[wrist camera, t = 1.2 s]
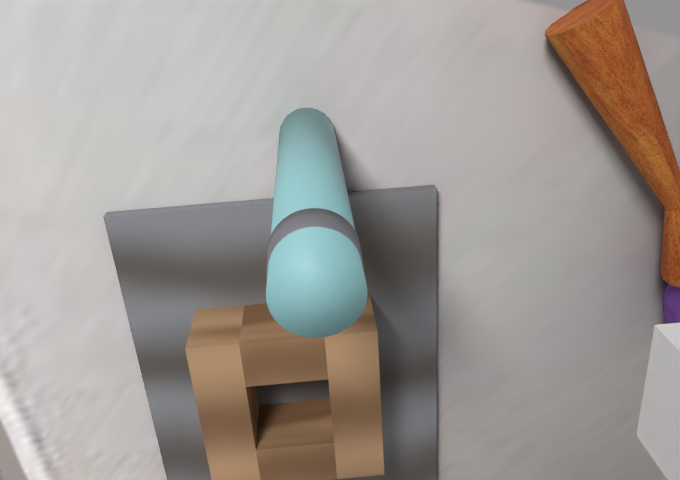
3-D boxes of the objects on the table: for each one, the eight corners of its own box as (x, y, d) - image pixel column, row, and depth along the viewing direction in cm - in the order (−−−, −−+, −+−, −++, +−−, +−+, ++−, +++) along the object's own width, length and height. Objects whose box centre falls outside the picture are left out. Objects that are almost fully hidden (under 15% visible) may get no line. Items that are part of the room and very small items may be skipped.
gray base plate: (106, 212, 31) (81, 249, 27) (434, 184, 31) (452, 217, 28) (178, 510, 39) (165, 568, 36) (434, 485, 40) (448, 540, 36)
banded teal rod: (275, 109, 29) (257, 252, 16) (333, 104, 29) (366, 242, 16) (281, 165, 30) (270, 343, 17) (337, 160, 30) (372, 334, 17)
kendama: (688, -40, 24) (851, 340, 30) (599, -20, 30) (752, 297, 36) (559, 52, 24) (748, 413, 30) (495, 55, 30) (665, 359, 36)
